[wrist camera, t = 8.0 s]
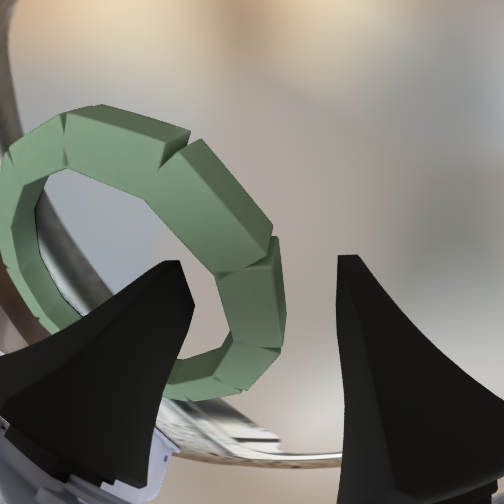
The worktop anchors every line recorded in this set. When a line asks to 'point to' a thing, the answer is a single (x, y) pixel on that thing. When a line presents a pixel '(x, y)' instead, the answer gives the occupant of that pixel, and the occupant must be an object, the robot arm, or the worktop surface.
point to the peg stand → (16, 317)
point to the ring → (172, 214)
